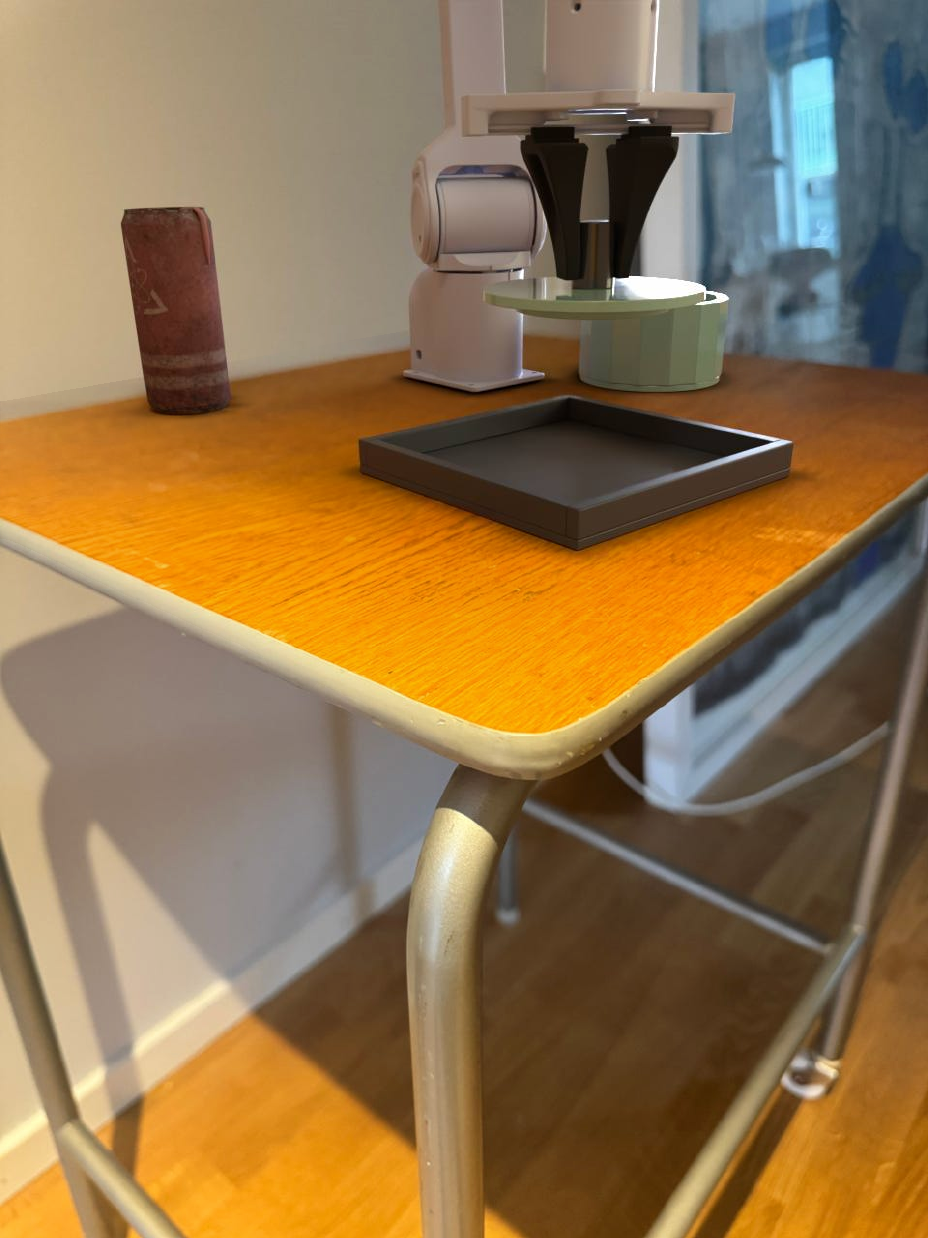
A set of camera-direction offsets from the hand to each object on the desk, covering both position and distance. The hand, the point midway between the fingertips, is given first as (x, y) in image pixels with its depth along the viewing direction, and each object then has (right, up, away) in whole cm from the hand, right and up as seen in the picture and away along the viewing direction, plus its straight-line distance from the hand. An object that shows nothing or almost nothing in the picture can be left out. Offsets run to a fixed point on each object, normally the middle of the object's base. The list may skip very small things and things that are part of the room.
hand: (592, 277), depth 56 cm
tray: (-1, -11, +1) cm, 11 cm away
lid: (0, -1, 0) cm, 1 cm away
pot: (+8, +1, +26) cm, 28 cm away
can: (-28, -3, +19) cm, 34 cm away
